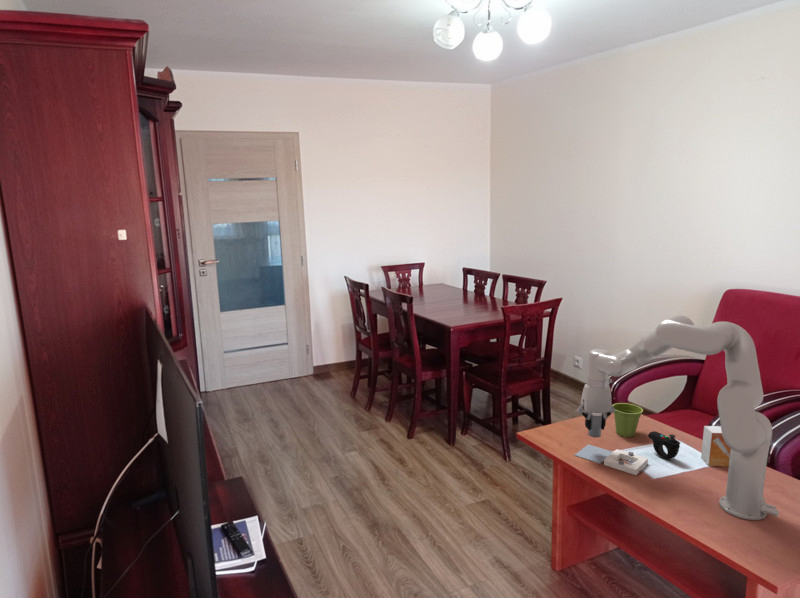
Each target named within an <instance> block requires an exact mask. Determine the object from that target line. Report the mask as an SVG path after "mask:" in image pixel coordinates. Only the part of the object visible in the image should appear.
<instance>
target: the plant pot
mask: <svg viewBox="0 0 800 598" xmlns="http://www.w3.org/2000/svg"><path fill="white" fill-rule="evenodd" d="M612 406H613V407H614V409H615V412H613V414H614V425H615V426H614V427H615V433H616V435H619V436H621V437H626V438H630V437H635V436H636V432H637V428H638V425H639V421H640V418H641V416H642V414H643V412H644V409H643V408H642V407H641V406H638V405H636V404H633V403H627V402H617V403H614V404H613V403H612Z"/></svg>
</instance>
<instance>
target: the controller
mask: <svg viewBox="0 0 800 598" xmlns="http://www.w3.org/2000/svg"><path fill="white" fill-rule="evenodd" d="M647 437H648V438H649V439H650V440H651V441H652V445H653V450H654V451H655V453H656V455H658V456H659V457H660V458H661V459H664V460H671V459H674V458H676V457H677V456H678V453H679V451H680V447H681V442H680V441H679V440H677V439H676V435H675V434H671V433H670V434H669V435H665V434H663V433H660V432H658V431H657V430H656V431H655V430H653V431H650V432H649V433H648V434H647ZM664 447H665V449H666V450H667V452H665V450H664Z"/></svg>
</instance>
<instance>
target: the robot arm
mask: <svg viewBox="0 0 800 598" xmlns="http://www.w3.org/2000/svg"><path fill="white" fill-rule="evenodd" d="M672 349H676V350H682V351H686V352H690V353H695V354H699V355H704V356H705V355H706V356H712V355H716V354H719V353H721V352H723V351H724V354H725V359H724V361H725V362H724V366H725V371H726V372H725V373H726V378H727V379H726V380H727V381H726V383H727V384H725V385H724V386H723V387H722V388H721V389H720V390H719V392H718V395H717V400H716V401H717V410H718V411H717V412H718V417H719V423H720V426H721V431H722V435H723V439H724V441H725V443H726V444H727V445H728V446H729V447H730V448H731V451H730V459H729V467H728V471H727V481H726V489H725V490H726V491H725V495H723V496H721V497H720V498H719V502H718V504H719V506H720V508H721V509H723V511H725V512H726V513H728V514H730V515H731V516H734V517H736V518H740V519H745V520H749V521H759V520H763V519H765V518H767V516H768V515H770V516H774V517H777V518H778V517H779V515H780V514H779V513H780V510H779V509H776V508H777V507H776V505H772V504H769V503H767V502H765V500H766V497H763V496H764V489H765V488H764V486H765V479H766V470H767V465H768V456H769V450H770V446H771V442H772V437H773V426H772V423H771V422H770V421H771V420H769V418H768V417H767V416H766V415H764V414H763V413H761V412H759V411H756V408H757V407H759V406H760V405H761V404H762V402H763V400H764V397H765V396H764V390H763V385H762V380H761V379H762V378H761V372H760V367H759V363H758V362H759V361H758V356H757V350H756V349H757V348H756V345H755V341H754V340H753V337H752V336H751V335H750V333H749V332H747V330H746V329H744V328H743V327H742V326H740V325H739V324H736V323H733V322H730V321H716V322H713V323H712V322H711V323H710V324H708V325H706V326H700V325H695V323H694V321H693V320H692V319H691V318H689V317H687V316H684V315H675V316H671V317H670V318H666V319H664V320H662V321H660V322H659V323H658V325H657V326H656V327H655V328H653V329H651V330H649V331H648V332H646V333H644V334H643V335H641V337H640V340H638V342H636V343H635V344H633V345H632V346H629V347H627V349H625V350H623V351H620V352H617V353H614V354H611V353H610V352H609V350H606V349H603V348H594V349H591V350H590V351H589V352H588V361H587V363H588V364H587V378H586V383H585V384H584V387H583V389H582V394H581V400H580V405H579V406H578V408H577V409H576V411H577V413H579V414H580V415H581V416H583V417H584V418H585V420H584V426H585V427H586V429H587V431H588V430H591V420H590V417H591V414H592V413H594V412H602V425H601V431H602V430H603V431H604V430H605V427H606V424H607V423H606V420H608V418H609V417H610V416H611V415H612V414H614V412H615V409H614V407H613V406H612V405H613V403H612V392H611V386H610V384H611V383H613V379H612V378H610V377H621V376H623V375H626V373H630V372H632V371H634V370H635V369H637V368H639V367H641V366H643V365H644V364H646V363H648V362H650V361H651V360H654V359H655V358H658V357H660V356H661V355H664V354H665V353H667V352H669V351H670V350H672ZM767 514H768V515H767Z"/></svg>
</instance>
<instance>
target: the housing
mask: <svg viewBox="0 0 800 598" xmlns="http://www.w3.org/2000/svg"><path fill="white" fill-rule="evenodd" d="M612 452H613V453H611V454H610V455H609V456H608V457H607V458H606V459H604V461H603V465H604V466H607V467H608V468H612V469H615V470H619V471H621V472H624V473H628V474H630V475H634V476H637V475H638V474H639V473H640V472H641V471H642V470H643V469H644V468H645V467H646V466H647V465H648V464H649V462H648V461H649V458H647V457H645V456H640V455H638V454H635V453H634V452H633V451H628V452H627V451H624V450H621V449H619V448H618V449H617V448H616V449H615V450H614V451H612ZM620 459H621V460H620ZM624 459H625V461H627V460H630V461H629V462H631V461H633V462H632V463H633V464H629V463H626V462H625V461H624ZM634 462H635V463H634ZM647 463H648V464H647ZM646 464H647V465H646ZM645 465H646V466H645ZM644 466H645V467H644ZM643 467H644V468H643ZM642 468H643V469H642ZM641 469H642V470H641ZM640 470H641V471H640ZM639 471H640V472H639Z"/></svg>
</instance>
